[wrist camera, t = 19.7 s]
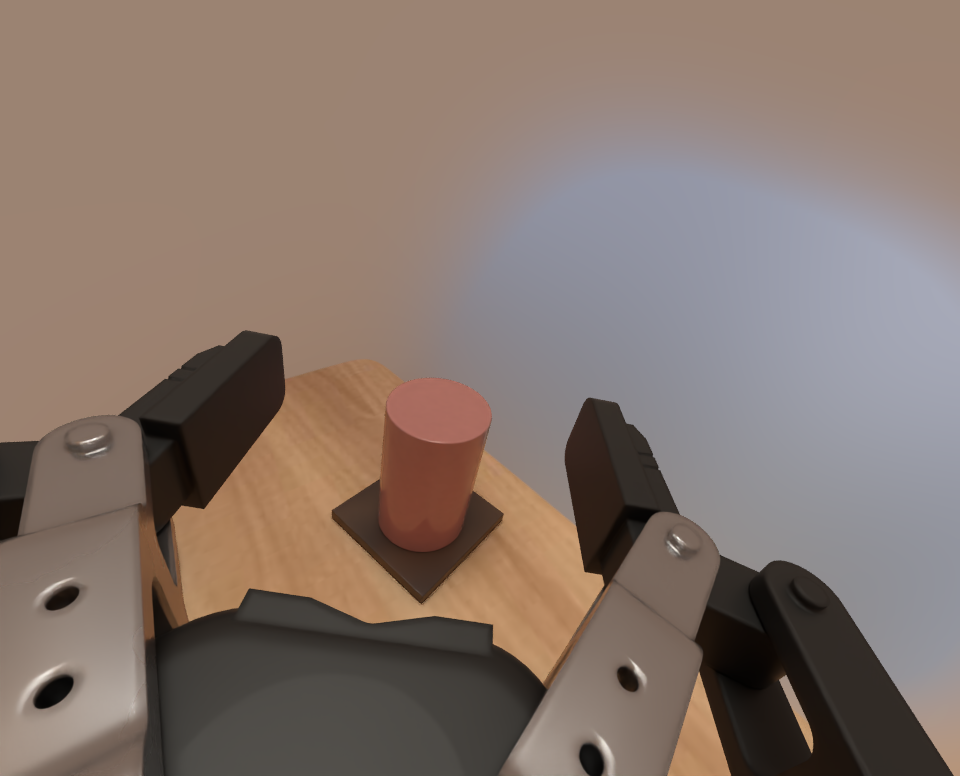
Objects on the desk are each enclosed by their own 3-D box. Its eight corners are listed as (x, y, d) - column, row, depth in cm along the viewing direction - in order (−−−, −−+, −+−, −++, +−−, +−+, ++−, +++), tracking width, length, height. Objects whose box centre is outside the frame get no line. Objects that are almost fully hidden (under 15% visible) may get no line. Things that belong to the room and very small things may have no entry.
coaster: (331, 517, 29) (331, 510, 29) (420, 458, 36) (421, 451, 35) (421, 604, 25) (422, 597, 25) (502, 520, 32) (504, 513, 31)
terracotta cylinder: (358, 526, 28) (363, 413, 23) (407, 469, 33) (420, 366, 28) (440, 568, 27) (466, 459, 21) (477, 502, 32) (506, 401, 26)
